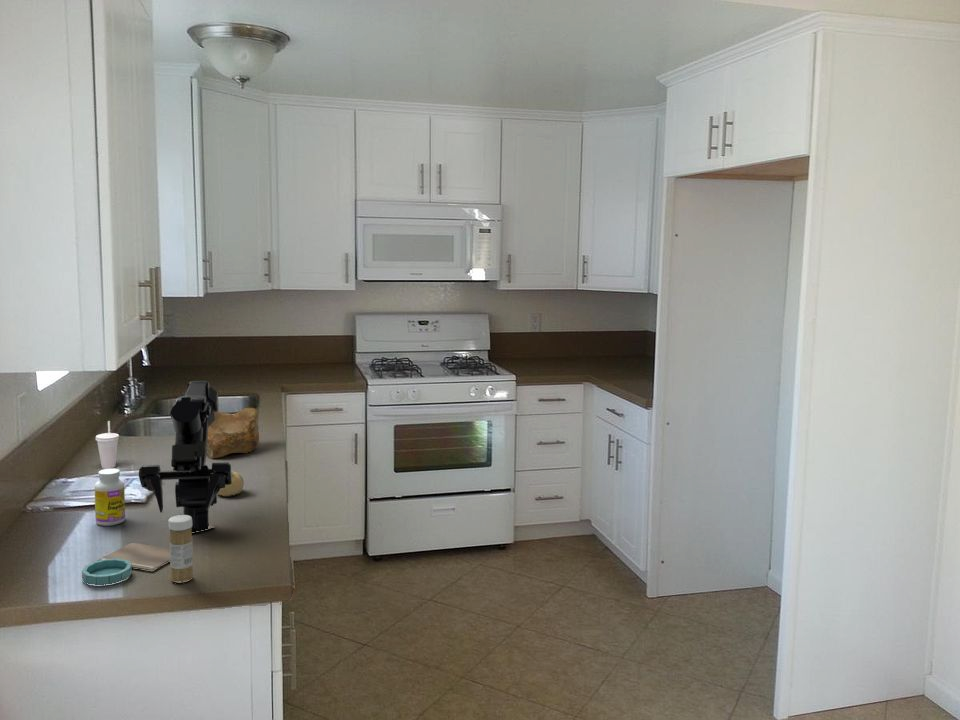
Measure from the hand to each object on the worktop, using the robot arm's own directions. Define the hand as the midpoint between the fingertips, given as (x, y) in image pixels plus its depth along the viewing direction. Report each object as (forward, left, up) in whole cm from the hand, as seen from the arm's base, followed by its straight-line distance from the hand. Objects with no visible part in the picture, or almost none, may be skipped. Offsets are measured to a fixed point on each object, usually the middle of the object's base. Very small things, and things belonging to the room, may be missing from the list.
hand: (184, 510), depth 173 cm
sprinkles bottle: (+6, -3, -13) cm, 14 cm away
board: (-11, -5, -13) cm, 17 cm away
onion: (-39, +30, -13) cm, 51 cm away
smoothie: (-84, +14, -13) cm, 86 cm away
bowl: (-5, -14, -13) cm, 20 cm away
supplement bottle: (-37, -2, -13) cm, 40 cm away
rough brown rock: (-77, +47, -13) cm, 91 cm away
